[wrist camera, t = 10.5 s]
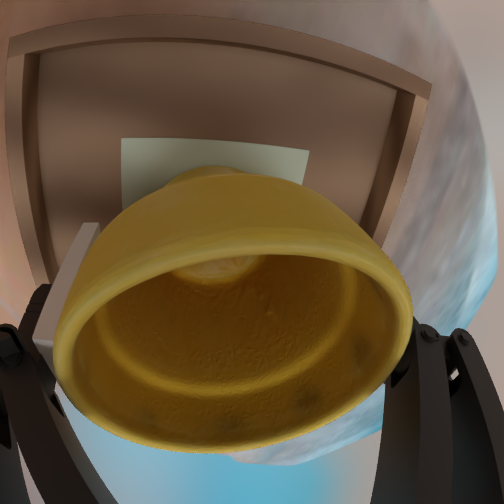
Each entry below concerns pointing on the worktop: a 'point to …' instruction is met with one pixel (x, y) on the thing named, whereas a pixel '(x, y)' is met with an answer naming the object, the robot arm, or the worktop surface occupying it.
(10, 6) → the worktop surface
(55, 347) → the plant pot
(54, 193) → the walnut tray
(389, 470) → the robot arm
